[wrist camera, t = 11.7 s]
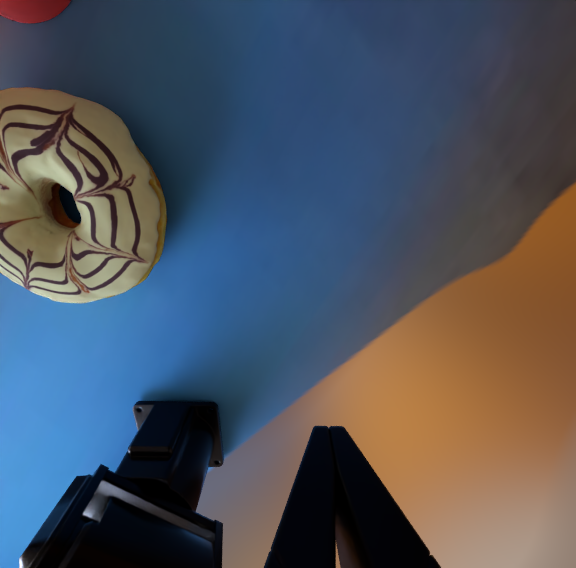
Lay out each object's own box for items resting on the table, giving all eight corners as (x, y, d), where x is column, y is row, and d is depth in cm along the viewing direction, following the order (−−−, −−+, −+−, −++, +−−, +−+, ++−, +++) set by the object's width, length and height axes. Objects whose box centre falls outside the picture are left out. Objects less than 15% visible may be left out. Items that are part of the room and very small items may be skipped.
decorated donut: (132, 73, 16) (86, 45, 12) (203, 264, 19) (183, 286, 16) (-40, 128, 17) (-129, 118, 13) (58, 300, 20) (9, 327, 17)
